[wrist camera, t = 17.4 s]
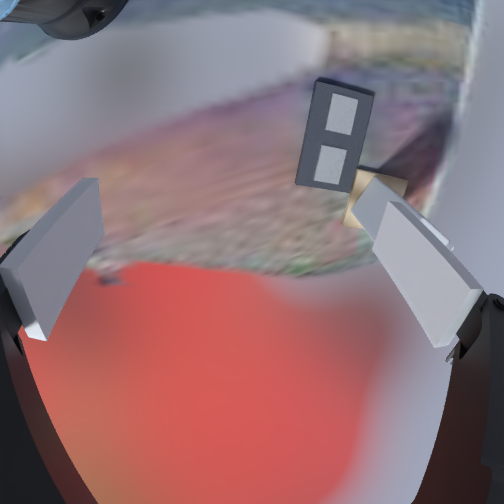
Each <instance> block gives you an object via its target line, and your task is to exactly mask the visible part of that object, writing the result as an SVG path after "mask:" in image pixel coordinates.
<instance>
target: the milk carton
mask: <svg viewBox="0 0 504 504" xmlns="http://www.w3.org/2000/svg"><path fill="white" fill-rule="evenodd" d="M388 201H394V202H400V203H402V204H403V205H404V206H405V207H406V208H407V209H408V210H409V211H411V212H412V213H413V214H414V215H415V216H416V217H417V218H418V219H419V220H420V221H421V222H422V223H423V224H424V225H425V226H426V227H427V228H428V229H429V230H430V231H431V232H432V233H433V234H434V235H435V236H436V237H437V238H438V239H439V240H440V241H441V242H442V243H443V244H444V245H445V246H446V247H447V248H448V249H449V250H450V251H452V249H453V248H454V246H453V245H452V244H451V243H450V241H449V240H448V239H447V238H446V237H445V236H444V235H443V234H442V233H441V232H440V231H439V230H438V229H437V228H436V227H435V226H434V225H433V224H431V223H430V222H429V221H428V220H427V219H426V218H425V217H424V216H423V215H422V214H420V213H419V212H418V211H417V210H416V209H415V208H414V207H413V206H411V205H410V204H409V203H408V202H407V201H406V200H404V199H403V198H402V197H401V196H400V195H398V194H397V193H396V192H394V191H393V190H392V189H391V188H389V187H388V186H387V185H385V184H384V183H383V182H381V181H380V180H379V179H377V178H376V177H374V178H373V179H372V180H371V182H370V183H369V185H368V186H367V187H366V189H365V190H364V192H363V193H362V195H361V196H360V197H359V199H358V200H357V202H356V203H355V204H354V206H353V207H352V209H351V210H350V211H351V213H352V214H353V215H354V216H355V218H356V219H357V220H358V221H359V223H360V224H361V225H362V227H363V228H364V229H365V230H366V232H367V233H368V234H369V236H370V237H371V238H372V240H373V241H374V242H375V240H376V237H377V234H378V231H379V228H380V225H381V222H382V219H383V216H384V213H385V209H386V206H387V203H388Z"/></svg>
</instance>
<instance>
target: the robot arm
mask: <svg viewBox="0 0 504 504" xmlns="http://www.w3.org/2000/svg"><path fill="white" fill-rule="evenodd" d="M126 1H127V0H0V22H19V23H31V24H37V25H38V26H39V27H40V28H41V29H42V30H43V31H44V32H45V33H46V34H47V35H49V36H51V37H53V38H56V39H62V40H79V39H83V38H86V37H89V36H91V35H93V34H95V33H97V32H98V31H100V30H102V29H103V28H104V27H106V26H107V25H108V24H109V23H110V22H111V21H112V20H113V19H114V18H115V17H116V16H117V15H118V14H119V12H120V11H121V10H122V8H123V7H124V5H125V3H126ZM103 235H104V228H103V220H102V211H101V201H100V191H99V179H98V178H83V179H82V180H81V181H79V182H78V183H77V184H76V185H75V186H74V187H73V188H72V189H71V190H70V191H69V192H67V193H66V194H65V195H64V196H63V197H62V198H61V199H60V200H59V201H58V202H57V203H56V204H55V205H54V206H53V207H52V208H51V209H50V210H49V211H48V212H47V213H46V214H45V215H44V216H43V217H42V218H41V219H40V220H39V221H38V222H37V223H36V224H35V225H34V227H33V228H32V229H31V230H28V231H27V232H25V233H24V234H22V235H21V236H19V237H18V238H17V239H16V241H15V242H14V243H13V244H12V246H10V247H9V248H8V250H7V251H6V253H4V254H3V255H2V257H1V258H0V504H98V503H97V501H96V500H95V498H94V497H93V495H92V494H91V492H90V491H89V489H88V488H87V486H86V485H85V483H84V481H83V480H82V478H81V476H80V475H79V473H78V471H77V470H76V468H75V467H74V465H73V463H72V461H71V459H70V458H69V456H68V454H67V452H66V450H65V448H64V446H63V444H62V443H61V440H60V438H59V436H58V434H57V432H56V430H55V428H54V426H53V424H52V422H51V419H50V417H49V415H48V413H47V410H46V408H45V406H44V403H43V401H42V399H41V396H40V394H39V391H38V388H37V386H36V383H35V380H34V378H33V375H32V372H31V370H30V366H29V363H28V360H27V357H26V354H25V351H24V347H23V344H22V341H21V339H20V337H19V335H18V331H19V329H20V327H21V325H23V327H24V329H25V331H26V333H27V335H28V337H30V338H35V339H39V340H44V341H47V339H48V337H49V335H50V332H51V330H52V328H53V326H54V324H55V322H56V320H57V318H58V316H59V314H60V312H61V310H62V308H63V306H64V304H65V302H66V300H67V298H68V296H69V294H70V292H71V290H72V289H73V287H74V285H75V283H76V281H77V279H78V277H79V276H80V274H81V272H82V270H83V269H84V267H85V265H86V263H87V262H88V260H89V258H90V256H91V255H92V253H93V251H94V250H95V248H96V246H97V245H98V243H99V241H100V240H101V238H102V237H103ZM372 250H373V252H374V253H375V255H376V256H377V257H378V259H379V260H380V262H381V263H382V265H383V266H384V268H385V269H386V271H387V272H388V274H389V275H390V277H391V278H392V280H393V281H394V283H395V284H396V286H397V287H398V289H399V291H400V292H401V294H402V295H403V297H404V298H405V300H406V302H407V303H408V305H409V306H410V308H411V309H412V311H413V313H414V314H415V316H416V318H417V319H418V321H419V323H420V324H421V326H422V328H423V330H424V331H425V333H426V335H427V336H428V338H429V340H430V342H431V343H432V345H433V347H434V348H437V347H443V346H448V345H449V343H450V342H451V340H452V339H453V337H454V336H455V335H456V334H457V336H458V338H459V339H460V340H459V342H458V343H457V344H456V346H455V347H454V349H453V350H452V351H451V353H450V354H449V355H448V357H447V358H446V360H445V361H446V362H448V361H449V359H450V358H453V361H452V362H451V363H450V364H452V371H451V376H450V382H449V387H448V392H447V397H446V402H445V406H444V411H443V415H442V419H441V423H440V427H439V430H438V434H437V438H436V441H435V444H434V448H433V451H432V454H431V457H430V460H429V463H428V466H427V469H426V472H425V475H424V477H423V480H422V483H421V486H420V488H419V491H418V493H417V495H416V497H415V499H414V501H413V502H412V503H411V504H504V298H503V297H501V296H499V295H497V294H492V293H491V294H489V295H487V294H486V293H485V292H484V290H483V287H482V286H481V285H480V284H479V283H478V282H477V280H476V279H475V278H474V277H473V276H472V275H471V274H470V272H468V270H467V269H466V268H465V267H464V266H463V265H462V263H461V262H460V261H459V260H458V259H457V258H456V257H455V256H454V255H453V254H452V252H451V251H450V250H449V249H448V248H447V247H446V246H445V245H444V244H443V243H442V242H441V241H440V240H439V239H438V238H437V237H436V236H435V235H434V234H433V233H432V232H431V231H430V230H429V229H428V228H427V227H426V226H425V225H424V224H423V223H422V222H421V221H420V220H419V219H418V218H417V217H416V216H415V215H414V214H413V213H412V212H411V211H409V210H408V209H407V208H406V207H405V206H404V205H403V204H402V203H400V202H394V201H388V203H387V206H386V209H385V213H384V216H383V219H382V222H381V225H380V228H379V231H378V234H377V237H376V240H375V243H374V245H373V248H372Z"/></svg>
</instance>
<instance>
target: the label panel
mask: <svg viewBox="0 0 504 504" xmlns="http://www.w3.org/2000/svg"><path fill="white" fill-rule="evenodd" d="M372 102H373V96H370V95H366V94H363V93H360V92H356V91H353V90H349V89H346V88H342V87H338V86H334V85H330V84H326V83H322V82H318V81H315V84H314V90H313V95H312V100H311V105H310V110H309V115H308V121H307V126H306V131H305V136H304V140H303V145H302V150H301V155H300V160H299V165H298V170H297V174H296V179H295V184H296V185H302V186H309V187H315V188H322V189H328V190H334V191H340V192H346V193H350V190H351V187H352V183H353V180H354V176H355V172H356V168H357V165H358V161H359V157H360V153H361V149H362V145H363V141H364V137H365V133H366V128H367V124H368V120H369V115H370V111H371V106H372Z"/></svg>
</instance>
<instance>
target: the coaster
mask: <svg viewBox="0 0 504 504" xmlns="http://www.w3.org/2000/svg"><path fill="white" fill-rule="evenodd" d="M374 177H376V178H377V179H379V180H380V181H381V182H383V183H384V184H385V185H387V186H388V187H389V188H391V189H392V190H393V191H394V192H396V193H397V194H398V195H400V196H401V197H402V198H403V196H404V193H405V190H406V187H407V184H408V181H407V180H404V179H400V178H396V177H392V176H388V175H384V174H380V173H375V172H371V171H366V170H362V169H356V172H355V176H354V180H353V183H352V187H351V191H350V194H349V198H348V201H347V205H346V208H345V211H344V215H343V218H342V221H341V225H342V226H347V227H354V228H362V229H364V228H363V227H362V225H361V224H360V223H359V221H358V220H357V219H356V218H355V216H354V215H353V214H352V213H351V211H350V210H351V209H352V207H353V206H354V204H355V203H356V202H357V200H358V199H359V197H360V196H361V195H362V193H363V192H364V190H365V189H366V187H367V186H368V185H369V183H370V182H371V180H372V179H373V178H374Z"/></svg>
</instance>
